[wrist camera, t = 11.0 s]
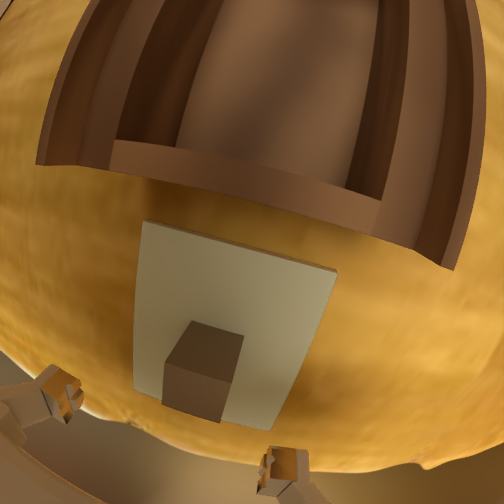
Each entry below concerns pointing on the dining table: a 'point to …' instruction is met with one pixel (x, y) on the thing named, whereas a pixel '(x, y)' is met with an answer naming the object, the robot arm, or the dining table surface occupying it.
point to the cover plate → (222, 324)
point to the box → (286, 107)
